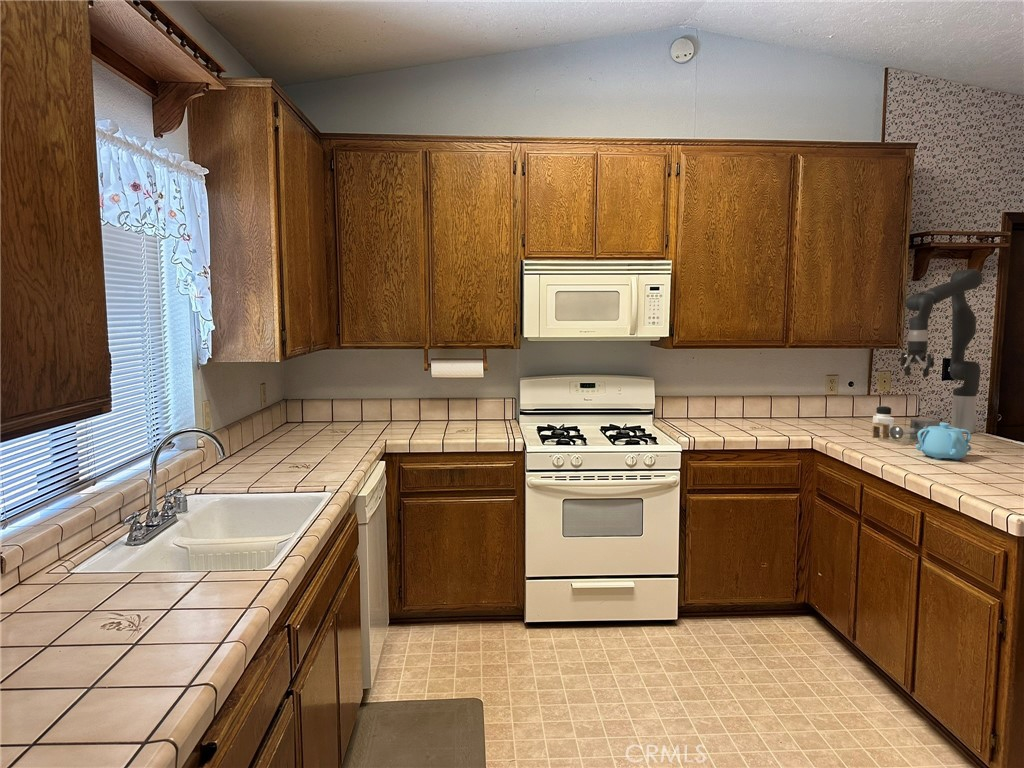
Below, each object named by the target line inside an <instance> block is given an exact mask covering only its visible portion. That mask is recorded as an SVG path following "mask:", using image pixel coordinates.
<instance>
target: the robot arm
mask: <svg viewBox="0 0 1024 768" xmlns="http://www.w3.org/2000/svg"><path fill="white" fill-rule="evenodd" d="M982 282H983V274H982V272H981V271H980V270H978V269H974V268H972V269H971V268H970V269H969V268H968V269H956V270H954V271H953V272H952V273H951V275H950V281H948V282H945V283H941V284H938V285H935V286H933V287H931V288H929V289H927V290H924V291H920V292H918V293H914V294H911V295H910V296H909V297H908V298H907V299H906V301H905V306H906V308H907V310H909V311H912V312H918V314H917V315H915V316H912V317H910V318H909V325H908V326H909V327H908V335H907V337H908V338H907V339H908V340H907V350H908V352H906V351H905V352H901V355H900V366H903V367H904V376H908V377H909V376H911V366H912V365H913V364H914V363H916V364H920V365H921V366H922V368H923V369H922V377H923V378H928V377H929V374H930V373H929V372H930V369H931V368H934V366H935V355H934V353H927V351H928V345H929V343H928V342H929V331H928V330H929V329H928V328H929V319H930V317H931V313H932V310H933V308H934V305H935V304H939V303H940V302H942V301H945V300H946V299H948V298H951V309H952V311H951V313H952V314H951V315H952V317H951V318H952V319H951V336H952V337H951V354H950V362H949V375H950V377H951V379H953V380H954V381H955V380H956V381H963V385H961V386H960V387H959V386H958V387H956V388H953V389H952V404H951V420H950V422H951V423H950V427H954V428H958V429H960V430H961V429H965V430H967V431H969V432H970V434H973V433H976V430H977V398H978V396H977V394H978V391H979V388H980V387H979V386H980V380H981V379H980V378H981V365H980V364H979V363H978V362H977V361H972V360H970V361H969V360H965V354H966V349H967V347H968V346H969V344H970V343H971V342H972V340H973V339H974V337H975V335H976V331H977V318H976V315H975V313H974V312H973V310H972V308H971V307H970V306H969V304H968V302H967V299H966V292H968V291H971V290H976V289H978V288H979V287H980V286H981V285H982ZM962 433H963V434H967V433H966V432H962Z"/></svg>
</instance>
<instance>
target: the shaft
mask: <svg viewBox="0 0 1024 768" xmlns="http://www.w3.org/2000/svg"><path fill="white" fill-rule="evenodd" d="M921 429H923V427H919V428H902V427H901V426H898V425H894V426H893V427H892V428H891V429H890V433H889V436H890V437H892V438H894V439H900V438H902V436H903V435H910V434H914V433H918V432H919V431H920V430H921ZM922 433H923V432H922Z"/></svg>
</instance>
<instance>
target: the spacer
mask: <svg viewBox="0 0 1024 768" xmlns="http://www.w3.org/2000/svg"><path fill="white" fill-rule="evenodd" d="M880 427H881V433H880ZM889 430H890V424H885V423H879V422H877V423H873V422H872V423H871V435H870V436H871V438H874V439H875V438H883V437H890V433H889Z"/></svg>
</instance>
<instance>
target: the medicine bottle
mask: <svg viewBox="0 0 1024 768" xmlns="http://www.w3.org/2000/svg"><path fill="white" fill-rule="evenodd" d="M875 412H876V413H875V415H873V416H872V423H877V422H879V423H885V424H890V429H891V428H892V427H893V426H895V418H894V417H892V407H889V406H883V405H882V406H880V405H879V406H877V407H876V411H875ZM880 434H881V427H880ZM889 434H890V430H889Z"/></svg>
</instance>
